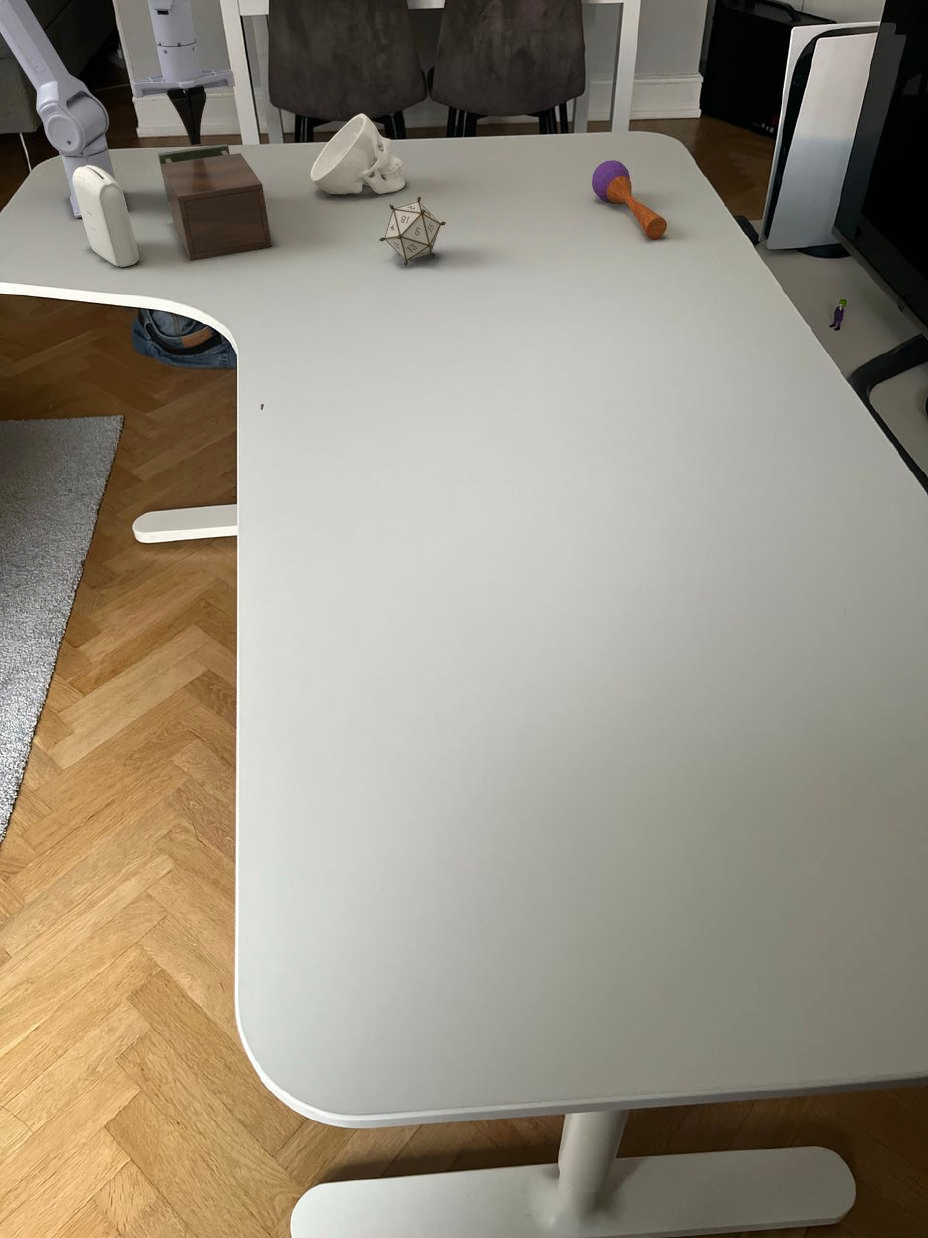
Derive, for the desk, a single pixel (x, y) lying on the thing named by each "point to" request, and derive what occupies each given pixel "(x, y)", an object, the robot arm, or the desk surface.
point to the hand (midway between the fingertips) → (195, 142)
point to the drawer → (192, 155)
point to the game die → (412, 231)
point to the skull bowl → (358, 161)
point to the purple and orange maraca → (625, 196)
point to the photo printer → (105, 215)
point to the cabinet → (217, 205)
